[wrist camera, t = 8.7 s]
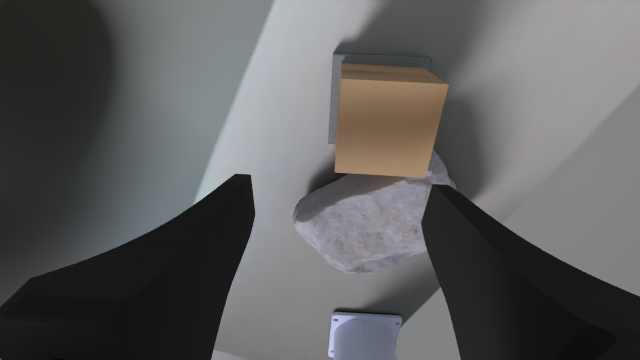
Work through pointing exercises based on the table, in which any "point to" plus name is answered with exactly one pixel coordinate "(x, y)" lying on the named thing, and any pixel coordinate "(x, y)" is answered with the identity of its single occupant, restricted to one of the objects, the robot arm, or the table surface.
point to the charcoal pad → (364, 59)
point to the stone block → (369, 218)
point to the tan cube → (387, 119)
